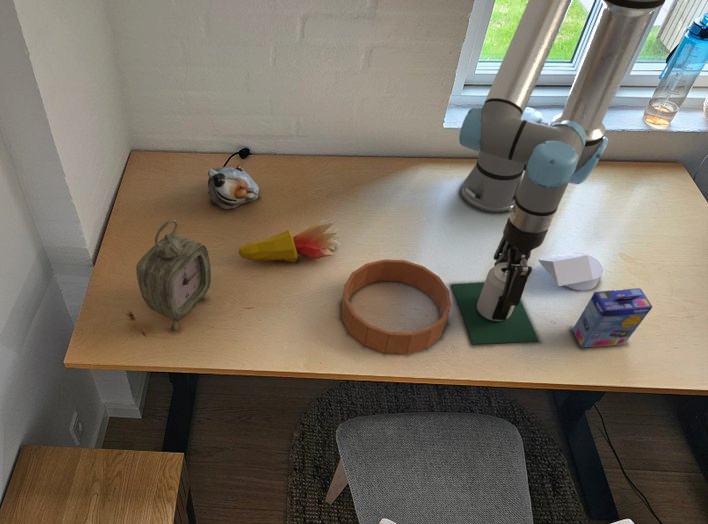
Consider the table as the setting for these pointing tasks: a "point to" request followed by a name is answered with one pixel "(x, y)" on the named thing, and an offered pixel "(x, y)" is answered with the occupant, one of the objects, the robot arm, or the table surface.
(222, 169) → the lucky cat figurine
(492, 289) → the can
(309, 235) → the torch
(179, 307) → the tabletop clock
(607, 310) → the ink cartridge box
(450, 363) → the table surface
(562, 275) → the wedge on round base
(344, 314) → the brown wooden ring
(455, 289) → the felt mat
